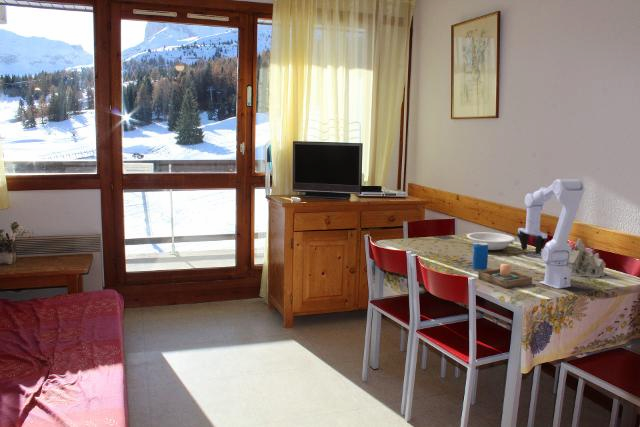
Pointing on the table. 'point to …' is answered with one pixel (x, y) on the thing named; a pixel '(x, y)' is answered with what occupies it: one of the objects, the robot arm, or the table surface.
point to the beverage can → (480, 256)
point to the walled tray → (511, 282)
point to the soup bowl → (491, 239)
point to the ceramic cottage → (585, 262)
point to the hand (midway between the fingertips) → (530, 251)
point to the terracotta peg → (505, 270)
